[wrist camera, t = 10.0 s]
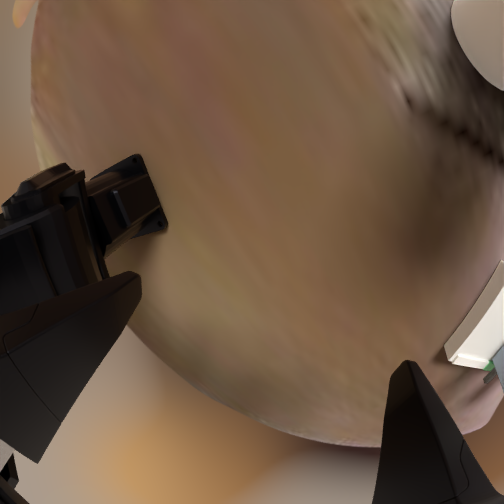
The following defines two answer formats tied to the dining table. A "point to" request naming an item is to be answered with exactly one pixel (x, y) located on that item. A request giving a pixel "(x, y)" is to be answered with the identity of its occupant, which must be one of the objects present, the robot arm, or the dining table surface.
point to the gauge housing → (481, 328)
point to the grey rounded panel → (497, 368)
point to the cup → (481, 36)
